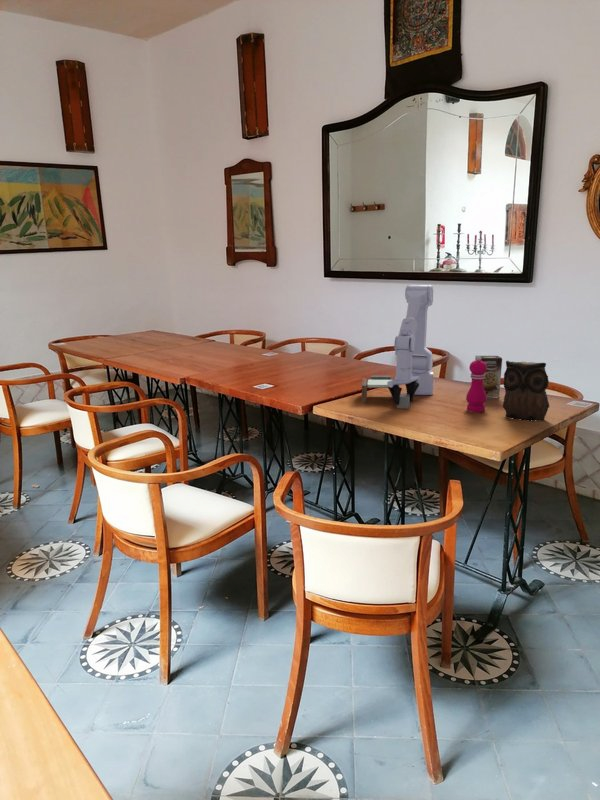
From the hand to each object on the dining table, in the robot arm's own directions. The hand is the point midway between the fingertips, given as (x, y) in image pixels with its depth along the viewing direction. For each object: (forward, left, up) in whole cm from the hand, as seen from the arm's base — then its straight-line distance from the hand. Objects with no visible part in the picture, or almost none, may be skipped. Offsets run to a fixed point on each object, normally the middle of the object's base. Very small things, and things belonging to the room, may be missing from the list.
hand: (403, 402), depth 216 cm
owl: (-42, +11, -2) cm, 43 cm away
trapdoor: (+8, -11, +5) cm, 15 cm away
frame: (+9, -10, -1) cm, 14 cm away
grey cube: (0, 0, -2) cm, 2 cm away
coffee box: (-33, -16, -2) cm, 37 cm away
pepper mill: (-26, +4, -2) cm, 26 cm away
